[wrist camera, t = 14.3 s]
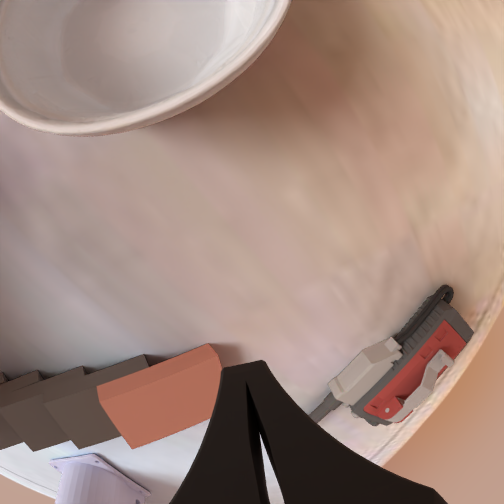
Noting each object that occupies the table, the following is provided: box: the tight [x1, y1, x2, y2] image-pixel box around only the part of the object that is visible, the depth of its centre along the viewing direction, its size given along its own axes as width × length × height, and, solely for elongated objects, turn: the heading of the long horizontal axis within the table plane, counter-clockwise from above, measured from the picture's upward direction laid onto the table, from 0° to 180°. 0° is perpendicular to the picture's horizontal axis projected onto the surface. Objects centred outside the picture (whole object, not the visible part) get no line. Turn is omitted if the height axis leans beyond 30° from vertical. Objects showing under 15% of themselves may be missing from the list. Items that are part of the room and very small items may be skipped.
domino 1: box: [0, 370, 43, 450], centre depth 17 cm, size 2×5×8 cm
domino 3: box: [43, 354, 149, 449], centre depth 18 cm, size 2×5×8 cm
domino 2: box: [0, 366, 87, 452], centre depth 17 cm, size 2×5×8 cm
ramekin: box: [0, 0, 292, 137], centre depth 10 cm, size 13×13×7 cm
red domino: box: [97, 344, 222, 449], centre depth 18 cm, size 2×5×8 cm
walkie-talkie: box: [308, 285, 474, 426], centre depth 22 cm, size 9×4×20 cm
